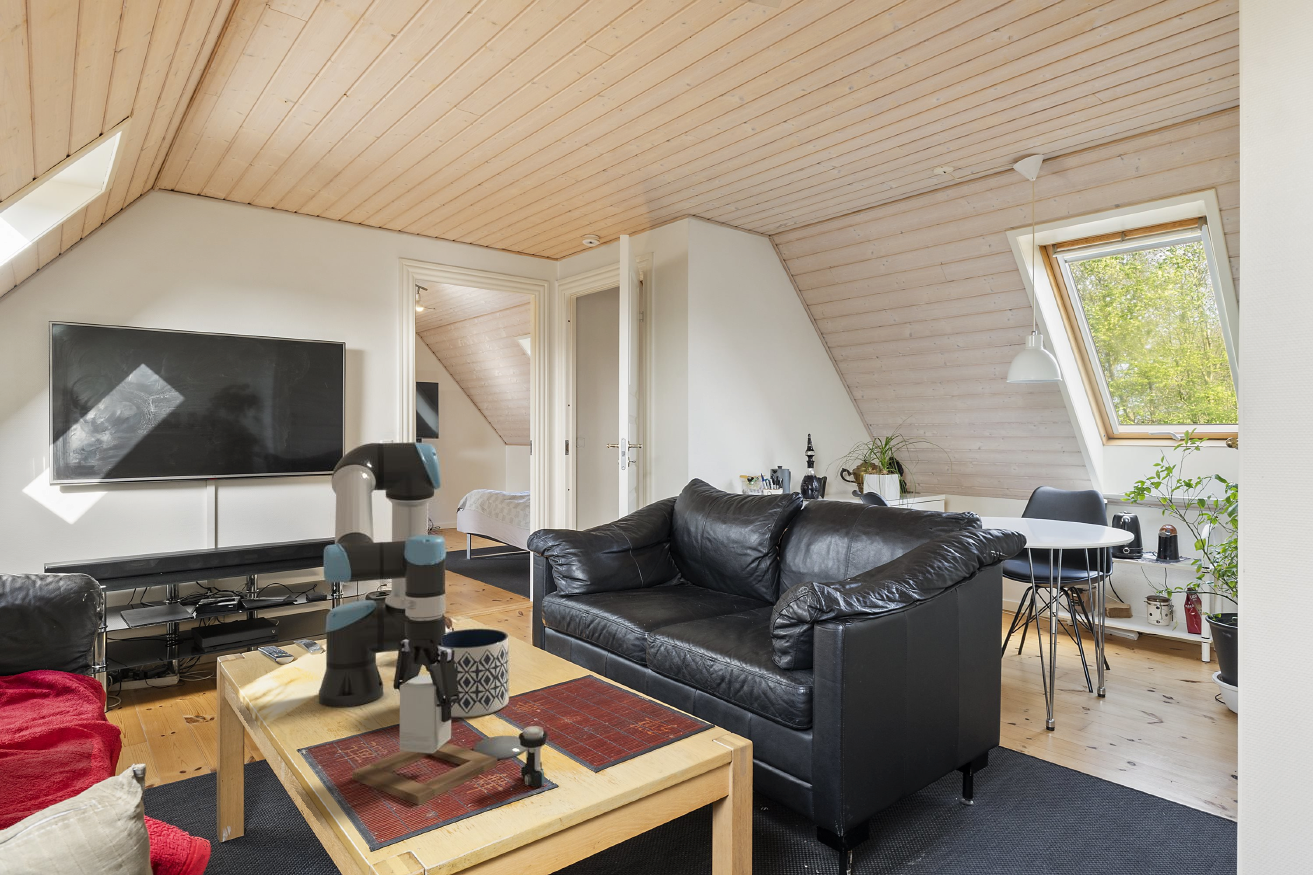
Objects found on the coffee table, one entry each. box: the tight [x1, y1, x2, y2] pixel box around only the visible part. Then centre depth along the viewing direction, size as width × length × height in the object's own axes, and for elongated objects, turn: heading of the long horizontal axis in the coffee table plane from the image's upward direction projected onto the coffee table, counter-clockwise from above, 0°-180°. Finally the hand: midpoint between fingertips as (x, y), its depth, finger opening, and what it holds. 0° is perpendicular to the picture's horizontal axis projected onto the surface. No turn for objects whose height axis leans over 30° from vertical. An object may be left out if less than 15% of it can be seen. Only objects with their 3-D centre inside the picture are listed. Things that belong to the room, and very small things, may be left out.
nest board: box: [352, 742, 498, 806], centre depth 146 cm, size 19×19×2 cm
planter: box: [433, 628, 510, 719], centre depth 183 cm, size 18×18×16 cm
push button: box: [518, 725, 549, 789], centre depth 142 cm, size 7×5×10 cm
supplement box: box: [399, 673, 452, 753], centre depth 146 cm, size 7×7×13 cm
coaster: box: [473, 735, 526, 761], centre depth 157 cm, size 11×11×1 cm
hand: (425, 731), depth 146 cm, fingers closed on supplement box, 9 cm apart
